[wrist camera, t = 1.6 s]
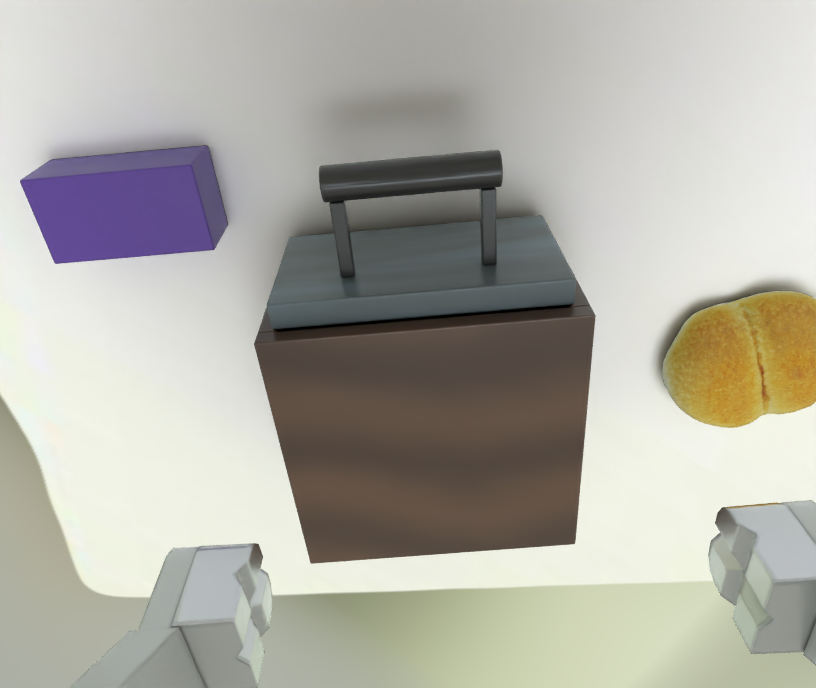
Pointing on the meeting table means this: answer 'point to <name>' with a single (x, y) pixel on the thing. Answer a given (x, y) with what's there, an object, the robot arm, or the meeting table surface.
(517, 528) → the cabinet
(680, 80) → the meeting table surface
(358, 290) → the drawer
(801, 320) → the bread roll
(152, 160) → the bar
